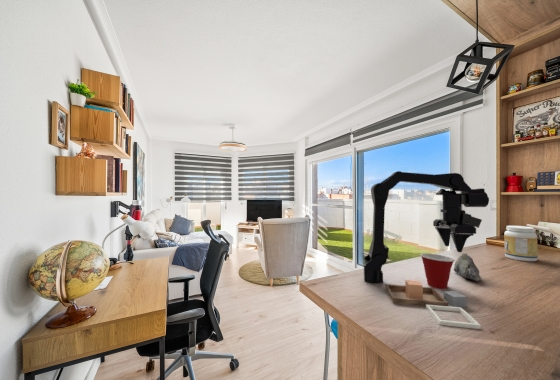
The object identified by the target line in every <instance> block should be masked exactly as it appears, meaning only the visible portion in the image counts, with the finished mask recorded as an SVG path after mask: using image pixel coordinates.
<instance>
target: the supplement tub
mask: <svg viewBox="0 0 560 380" xmlns="http://www.w3.org/2000/svg"><path fill="white" fill-rule="evenodd" d="M505 226H506V228H505V231H504V234H503V235H504V238H503V239H504V256H505V258H508V259H511V260H515V261H523V262H536V261H538V258H539V255H538V254H539V253H538V235H537V234H536V233H535V227H532V226H526V225H525V226H524V225H505Z"/></svg>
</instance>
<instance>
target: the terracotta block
mask: <svg viewBox="0 0 560 380" xmlns="http://www.w3.org/2000/svg"><path fill="white" fill-rule="evenodd" d="M404 282H405V284H404V286H405V292H406V296H407V297H408V298H410V299H421V300H423V287H424V286H423V284H422V283H421V282H420V281H419V280H412V279H411V280H410V279H405V281H404Z"/></svg>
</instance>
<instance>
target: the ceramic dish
mask: <svg viewBox="0 0 560 380" xmlns="http://www.w3.org/2000/svg"><path fill="white" fill-rule="evenodd" d="M425 309H426V310H427V311H428V312H429V313H430V315H431V316H432V317H433V319H434V320H435V321H436V322H437V323H438V325H441V326H449V327H460V328H466V329H468V328H469V329H475V330H481V329H482V325H481V324H480V322H478V321H477V320H476V319H475V318H473V317H472V315H470V314H469V313H468V312H467V311H466V310H465V309H463V307H452V306H451V305H449V306H439V305H428V304H426V307H425ZM435 310H438V311H448V312H449V311H450V312H459V313H461V314H462V316H464V317H465V318H466V319H467V320H468V321H469V322H466V321H456V320H455V321H454V320H447V319H446V320H445V319H441V318H440V317H439V316H438V314H437V313H436V312H435Z"/></svg>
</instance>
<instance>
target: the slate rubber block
mask: <svg viewBox="0 0 560 380" xmlns="http://www.w3.org/2000/svg"><path fill="white" fill-rule="evenodd" d="M443 298H444V299H445V300H446V301H447V302H448V303H449V306H450V307H461V308H467V307H468V306H467V296H466V295H464V294H462V293H461V292H459V291H456V290H451V291H449V290H447V291H446V290H445V291H443Z"/></svg>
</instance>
